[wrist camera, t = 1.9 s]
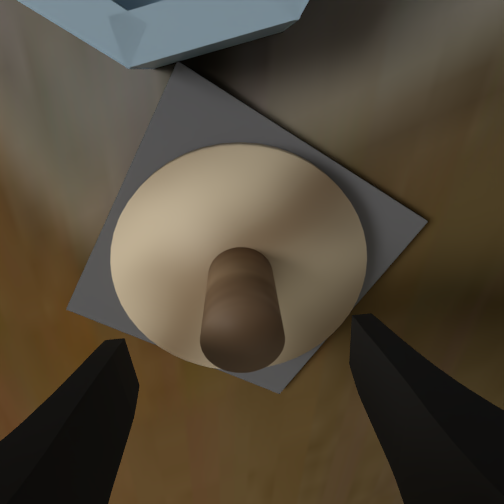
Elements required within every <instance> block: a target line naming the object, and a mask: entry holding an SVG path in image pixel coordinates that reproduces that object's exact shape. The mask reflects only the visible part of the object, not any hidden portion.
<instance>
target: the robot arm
mask: <svg viewBox="0 0 504 504" xmlns="http://www.w3.org/2000/svg"><path fill="white" fill-rule="evenodd" d="M349 364H350V368H351V371H352V374H353V378H354V381H355V384H356V387H357V390H358V394H359V396H360V398H361V401H362V403H363V405H364V408H365V410H366V412H367V414H368V417H369V419H370V421H371V423H372V426H373V428H374V430H375V432H376V435H377V437H378V439H379V441H380V444H381V446H382V448H383V450H384V453H385V455H386V457H387V459H388V462H389V464H390V466H391V469H392V471H393V474H394V477H395V479H396V482H397V485H398V488H399V490H400V493H401V496H402V499H403V502H404V504H504V410H502V409H500V408H499V407H497V406H495V405H493V404H492V403H490V402H489V401H487V400H485V399H484V398H482V397H481V396H479V395H477V394H476V393H474V392H473V391H471V390H469V389H468V388H466V387H465V386H463V385H462V384H460V383H459V382H457V381H456V380H454V379H453V378H452V377H450V376H449V375H447V374H446V373H445V372H443V371H442V370H440V369H439V368H438V367H436V366H435V365H434V364H432V363H431V362H430V361H428V360H427V359H426V358H424V357H423V356H422V355H421V354H419V353H418V352H417V351H415V350H414V349H413V348H412V347H410V346H409V345H408V344H407V343H406V342H404V341H403V340H402V339H401V338H400V337H398V336H397V335H396V334H395V333H394V332H393V331H391V330H390V329H389V328H388V327H387V326H385V325H384V324H383V323H382V322H381V321H380V320H378V319H377V318H376V317H375V316H374V315H373V314H361V315H352V325H351V343H350V362H349ZM138 391H139V382H138V379H137V376H136V373H135V370H134V367H133V364H132V361H131V357H130V354H129V351H128V348H127V345H126V342H125V339H124V338H123V339H113V340H105V341H104V342H103V343H102V344H101V345H100V346H99V347H98V348H97V349H96V350H95V351H94V352H93V353H92V354H91V355H90V356H89V357H88V358H87V359H86V360H85V361H84V362H83V363H82V365H81V366H80V367H79V368H78V369H77V370H76V371H75V372H74V373H73V374H72V375H71V376H70V377H69V378H68V379H67V380H66V381H65V382H64V383H63V384H62V385H61V386H60V387H59V388H58V389H57V390H56V391H55V392H54V393H53V394H52V395H51V396H50V397H49V398H48V399H47V400H46V401H45V402H44V403H42V404H41V405H40V406H39V407H38V408H37V409H36V410H35V411H34V412H33V413H32V414H31V415H30V416H29V417H28V418H27V419H25V420H24V421H23V422H22V423H21V424H20V425H19V426H18V427H17V428H15V429H14V430H13V431H12V432H11V433H10V434H8V435H7V436H6V437H5V438H4V439H2V440H1V441H0V504H108V502H109V498H110V494H111V491H112V488H113V484H114V481H115V478H116V475H117V471H118V468H119V465H120V462H121V458H122V455H123V452H124V449H125V445H126V442H127V439H128V436H129V432H130V429H131V426H132V422H133V419H134V414H135V409H136V403H137V397H138Z"/></svg>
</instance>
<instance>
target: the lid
mask: <svg viewBox="0 0 504 504" xmlns="http://www.w3.org/2000/svg"><path fill="white" fill-rule="evenodd" d="M110 265H111V274H112V280H113V283H114V287H115V291H116V293H117V296H118V298H119V300H120V303H121V305H122V307H123V308H124V310H125V311H126V313H127V315H128V316H129V318H130V319H131V320H132V322H133V323H134V324H135V325H136V327H137V328H138V329H139V330H140V331H141V332H142V333H143V334H144V335H145V336H146V337H147V338H149V339H150V340H151V341H152V342H154V343H155V344H156V345H158V346H159V347H161V348H162V349H164V350H166V351H167V352H169V353H171V354H172V355H175V356H177V357H179V358H181V359H183V360H186V361H189V362H192V363H195V364H198V365H202V366H206V367H211V368H218V369H223V370H225V371H229V372H235V373H249V372H254V371H258V370H260V369H263V368H265V367H269V366H273V365H277V364H280V363H284V362H286V361H289V360H291V359H294V358H297V357H298V356H300V355H302V354H304V353H306V352H308V351H310V350H312V349H313V348H315V347H316V346H318V345H319V344H321V343H322V342H323V341H324V340H326V339H327V338H328V337H329V336H330V335H332V334H333V333H334V332H335V331H336V329H337V328H338V327H339V326H340V325H341V324H342V323H343V322H344V320H345V319H346V318H347V316H348V315H349V314H350V312H351V310H352V309H353V307H354V305H355V303H356V302H357V299H358V297H359V294H360V292H361V289H362V286H363V282H364V278H365V275H366V265H367V247H366V241H365V236H364V231H363V228H362V225H361V222H360V220H359V217H358V215H357V213H356V211H355V209H354V207H353V206H352V204H351V202H350V201H349V199H348V198H347V197H346V195H345V194H344V193H343V191H342V190H341V189H340V188H339V187H338V186H337V184H336V183H335V182H334V181H333V180H332V179H331V178H330V177H328V176H327V175H326V174H325V173H324V172H323V171H322V170H321V169H319V168H318V167H316V166H315V165H314V164H312V163H311V162H309V161H308V160H306V159H304V158H302V157H300V156H298V155H296V154H294V153H292V152H289V151H286V150H283V149H280V148H278V147H273V146H269V145H264V144H259V143H246V142H234V143H220V144H215V145H210V146H205V147H202V148H199V149H196V150H193V151H190V152H187V153H185V154H183V155H181V156H179V157H177V158H175V159H173V160H171V161H169V162H168V163H166V164H165V165H164V166H162V167H161V168H159V169H158V170H157V171H155V172H154V173H153V174H152V175H151V176H150V177H149V178H148V179H147V180H146V181H145V182H144V183H143V184H142V185H141V186H140V187H139V188H138V190H137V191H136V192H135V194H134V195H133V196H132V197H131V199H130V200H129V201H128V203H127V204H126V206H125V208H124V210H123V212H122V213H121V215H120V217H119V220H118V222H117V225H116V228H115V231H114V234H113V239H112V244H111V256H110Z"/></svg>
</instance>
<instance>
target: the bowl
mask: <svg viewBox="0 0 504 504" xmlns="http://www.w3.org/2000/svg"><path fill="white" fill-rule="evenodd" d="M17 1H19V2H21V3H22V4H24V5H25V6H27V7H29V8H30V9H32V10H34V11H35V12H37V13H39V14H40V15H42V16H43V17H45V18H47V19H48V20H50V21H52V22H53V23H55V24H57V25H58V26H60V27H61V28H63V29H65V30H66V31H68V32H70V33H71V34H73V35H75V36H76V37H78V38H79V39H81V40H83V41H84V42H86V43H88V44H89V45H91V46H93V47H94V48H96V49H98V50H99V51H101V52H102V53H104V54H106V55H107V56H109V57H111V58H112V59H114V60H116V61H117V62H119V63H120V64H122V65H124V66H125V67H126V68H129V69H155V68H158V67H161V66H165V65H168V64H172V63H175V62H177V61H182V60H186V59H189V58H193V57H196V56H200V55H203V54H207V53H210V52H214V51H217V50H221V49H224V48H228V47H231V46H235V45H238V44H242V43H245V42H249V41H252V40H256V39H259V38H263V37H266V36H270V35H273V34H277V33H280V32H281V33H282V32H284V31H285V30H286V29H287V28H289V27H290V26H291V25H293V24H294V23H295V22H296V21H298V20H299V19H300V16H301V14H302V12H303V10H304V9H305V7H306V5H307V3H308V1H309V0H17Z"/></svg>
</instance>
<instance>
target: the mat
mask: <svg viewBox="0 0 504 504" xmlns="http://www.w3.org/2000/svg"><path fill="white" fill-rule="evenodd" d="M234 142H246V143H259V144H264V145H269V146H273V147H278V148H280V149H283V150H286V151H289V152H292V153H294V154H296V155H298V156H300V157H302V158H304V159H306V160H308V161H309V162H311V163H312V164H314V165H315V166H316V167H318V168H319V169H321V170H322V171H323V172H324V173H325V174H326V175H327V176H328V177H330V178H331V179H332V180H333V181H334V182H335V183H336V184H337V186H338V187H339V188H340V189H341V190H342V191H343V193H344V194H345V195H346V197H347V198H348V199H349V201H350V202H351V204H352V206H353V207H354V209H355V211H356V213H357V215H358V217H359V220H360V222H361V225H362V228H363V231H364V236H365V241H366V247H367V265H366V275H365V278H364V282H363V286H362V289H361V292H360V294H359V297H358V299H357V302H356V303H355V305H354V307H355V306H356V304H357V303H358V302H359V301H360V300H361V299H362V297H363V296H364V295H365V294H366V293H367V292H368V290H369V289H370V288H371V287H372V286H373V285H374V284H375V282H376V281H377V280H378V279H379V278H380V277H381V275H382V274H383V273H384V272H385V271H386V270H387V268H388V267H389V266H390V265H391V264H392V263H393V262H394V260H395V259H396V258H397V257H398V256H399V255H400V253H401V252H402V251H403V250H404V249H405V248H406V246H407V245H408V244H409V243H410V242H411V241H412V239H413V238H414V237H415V236H416V235H417V234H418V233H419V231H420V230H421V229H422V228H423V227H424V226H425V224H426V223H427V222H428V221H427V220H425V219H424V218H423V217H421V216H419V215H418V214H416V213H415V212H413V211H412V210H410V209H409V208H407V207H405V206H404V205H402V204H401V203H399V202H398V201H396V200H394V199H393V198H391V197H390V196H388V195H387V194H385V193H384V192H382V191H380V190H379V189H377V188H376V187H374V186H373V185H371V184H369V183H368V182H366V181H365V180H363V179H362V178H360V177H359V176H357V175H355V174H354V173H352V172H351V171H349V170H348V169H346V168H344V167H343V166H341V165H340V164H338V163H337V162H335V161H334V160H332V159H330V158H329V157H327V156H326V155H324V154H323V153H321V152H319V151H318V150H316V149H315V148H313V147H312V146H310V145H309V144H307V143H305V142H304V141H302V140H301V139H299V138H298V137H296V136H295V135H293V134H291V133H290V132H288V131H287V130H285V129H284V128H282V127H280V126H279V125H277V124H276V123H274V122H273V121H271V120H270V119H268V118H266V117H265V116H263V115H262V114H260V113H259V112H257V111H255V110H254V109H252V108H251V107H249V106H248V105H246V104H245V103H243V102H241V101H240V100H238V99H237V98H235V97H234V96H232V95H230V94H229V93H227V92H226V91H224V90H223V89H221V88H220V87H218V86H216V85H215V84H213V83H212V82H210V81H209V80H207V79H205V78H204V77H202V76H201V75H199V74H198V73H196V72H195V71H193V70H191V69H190V68H188V67H187V66H185V65H184V64H182V63H180V62H179V61H177V63H176V65H175V68H174V70H173V72H172V74H171V76H170V79H169V81H168V83H167V85H166V88H165V90H164V92H163V94H162V97H161V99H160V101H159V103H158V105H157V108H156V110H155V112H154V114H153V117H152V119H151V121H150V123H149V126H148V128H147V130H146V132H145V135H144V137H143V139H142V141H141V143H140V146H139V148H138V150H137V152H136V155H135V157H134V159H133V161H132V164H131V166H130V168H129V170H128V172H127V175H126V177H125V179H124V181H123V184H122V186H121V188H120V190H119V193H118V195H117V197H116V199H115V202H114V204H113V206H112V208H111V210H110V213H109V215H108V217H107V219H106V222H105V224H104V226H103V228H102V231H101V233H100V235H99V237H98V239H97V242H96V244H95V246H94V248H93V251H92V253H91V255H90V257H89V260H88V262H87V264H86V266H85V268H84V271H83V273H82V275H81V277H80V280H79V282H78V284H77V286H76V289H75V291H74V293H73V295H72V298H71V300H70V302H69V304H68V306H67V310H69V311H72V312H74V313H77V314H79V315H82V316H84V317H87V318H89V319H92V320H94V321H97V322H99V323H102V324H104V325H107V326H109V327H112V328H114V329H117V330H120V331H122V332H125V333H127V334H130V335H132V336H135V337H137V338H140V339H142V340H145V341H147V342H150V343H152V344H155V343H154V342H152V341H151V340H150V339H149V338H147V337H146V336H145V335H144V334H143V333H142V332H141V331H140V330H139V329H138V328H137V327H136V325H135V324H134V323H133V322H132V320H131V319H130V318H129V316H128V315H127V313H126V311H125V310H124V308H123V307H122V305H121V303H120V300H119V298H118V296H117V293H116V291H115V287H114V283H113V280H112V274H111V265H110V256H111V244H112V239H113V234H114V231H115V228H116V225H117V222H118V220H119V217H120V215H121V213H122V212H123V210H124V208H125V206H126V204H127V203H128V201H129V200H130V199H131V197H132V196H133V195H134V194H135V192H136V191H137V190H138V188H139V187H140V186H141V185H142V184H143V183H144V182H145V181H146V180H147V179H148V178H149V177H150V176H151V175H152V174H153V173H154V172H155V171H157V170H158V169H159V168H161V167H162V166H164V165H165V164H166V163H168V162H169V161H171V160H173V159H175V158H177V157H179V156H181V155H183V154H185V153H187V152H190V151H193V150H196V149H199V148H202V147H205V146H210V145H215V144H220V143H234ZM354 307H353V308H354ZM324 341H325V340H324ZM324 341H323V342H322V343H321V344H319V345H318V346H316V347H315V348H313V349H312V350H310V351H308V352H306V353H304V354H302V355H300V356H298V357H297V358H294V359H291V360H289V361H286V362H284V363H280V364H277V365H273V366H269V367H265V368H263V369H260V370H258V371H254V372H249V373H235V372H229V371H225V370H223V369H218V368H215V369H218V370H221V371H223V372H226V373H228V374H231V375H233V376H236V377H238V378H241V379H243V380H246V381H248V382H251V383H253V384H256V385H258V386H261V387H263V388H266V389H268V390H271V391H274V392H276V393H279V394H280V392H281V391H282V390H283V389H284V388H285V387H286V386H287V384H288V383H289V382H290V381H291V380H292V379H293V377H294V376H295V375H296V374H297V373H298V372H299V370H300V369H301V368H302V367H303V366H304V365H305V364H306V362H307V361H308V360H309V359H310V358H311V357H312V355H313V354H314V353H315V352H316V351H317V350H318V348H319V347H320V346H321V345H322V344H323V343H324ZM155 345H156V344H155ZM157 346H158V345H157Z"/></svg>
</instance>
